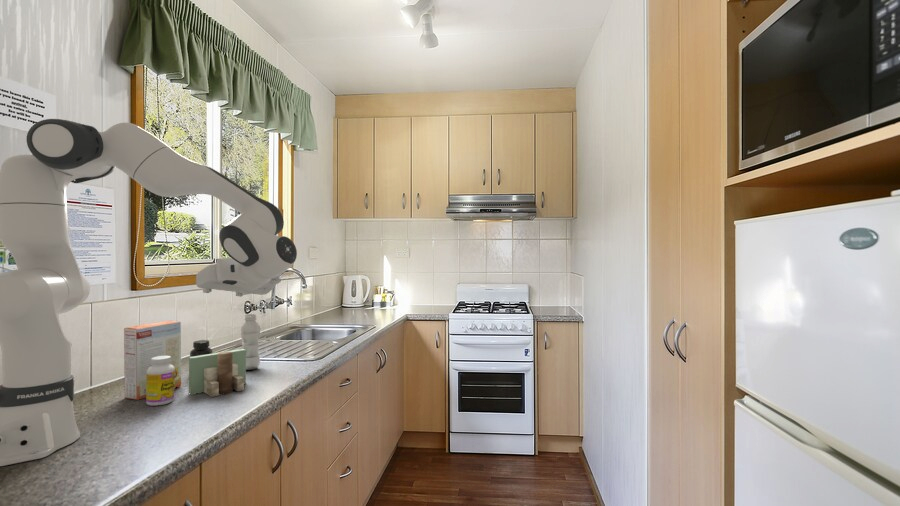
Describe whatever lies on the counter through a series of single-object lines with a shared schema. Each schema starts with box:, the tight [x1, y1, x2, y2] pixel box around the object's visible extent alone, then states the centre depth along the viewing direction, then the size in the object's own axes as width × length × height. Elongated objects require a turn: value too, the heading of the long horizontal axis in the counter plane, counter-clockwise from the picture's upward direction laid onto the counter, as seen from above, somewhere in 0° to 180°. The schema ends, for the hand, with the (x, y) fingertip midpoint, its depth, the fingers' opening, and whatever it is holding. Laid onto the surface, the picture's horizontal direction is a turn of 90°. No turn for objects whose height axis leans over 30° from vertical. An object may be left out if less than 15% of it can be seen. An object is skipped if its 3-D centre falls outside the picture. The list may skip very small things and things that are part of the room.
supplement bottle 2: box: [189, 339, 213, 357], centre depth 149 cm, size 7×7×12 cm
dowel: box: [217, 351, 233, 395], centre depth 131 cm, size 4×4×12 cm
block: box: [203, 363, 245, 398], centre depth 132 cm, size 9×7×7 cm
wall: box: [188, 348, 247, 395], centre depth 135 cm, size 16×2×11 cm, turn 137°
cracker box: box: [123, 320, 182, 401], centre depth 131 cm, size 14×6×21 cm, turn 161°
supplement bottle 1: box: [145, 356, 175, 407], centre depth 122 cm, size 7×7×13 cm
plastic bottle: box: [240, 313, 261, 371], centre depth 157 cm, size 6×7×20 cm
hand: (222, 292), depth 122 cm, fingers open, 8 cm apart
